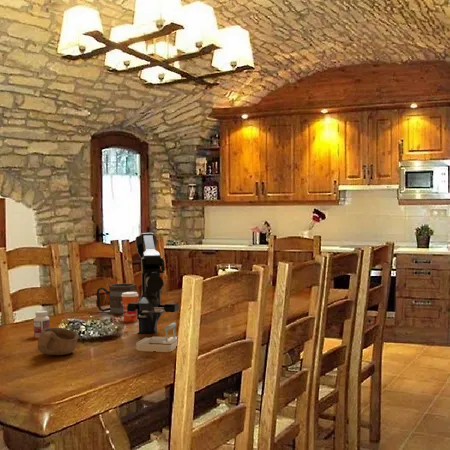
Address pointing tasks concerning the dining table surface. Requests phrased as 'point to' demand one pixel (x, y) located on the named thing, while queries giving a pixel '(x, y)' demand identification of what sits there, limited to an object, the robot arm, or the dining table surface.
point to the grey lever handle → (171, 339)
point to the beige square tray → (155, 345)
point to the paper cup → (127, 298)
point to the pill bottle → (40, 322)
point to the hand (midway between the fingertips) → (153, 330)
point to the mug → (116, 297)
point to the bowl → (57, 341)
